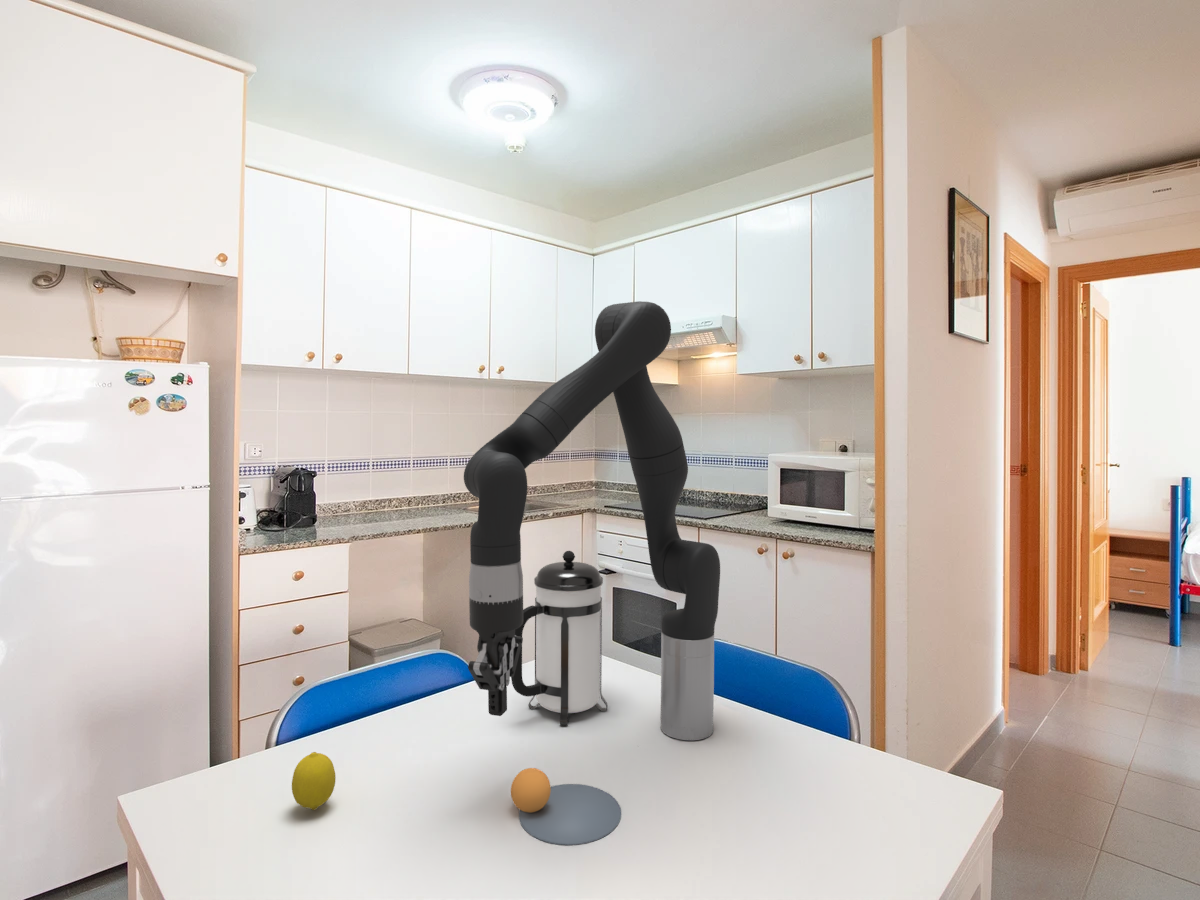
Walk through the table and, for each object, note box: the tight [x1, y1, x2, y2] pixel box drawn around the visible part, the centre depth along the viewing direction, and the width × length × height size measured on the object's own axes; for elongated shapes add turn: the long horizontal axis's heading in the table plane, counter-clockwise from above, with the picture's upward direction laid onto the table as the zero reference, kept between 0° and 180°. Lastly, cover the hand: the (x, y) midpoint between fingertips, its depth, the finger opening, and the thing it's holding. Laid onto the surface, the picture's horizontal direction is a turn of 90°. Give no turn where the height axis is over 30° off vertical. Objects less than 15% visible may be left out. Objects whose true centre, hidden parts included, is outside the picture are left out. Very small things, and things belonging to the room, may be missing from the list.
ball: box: [510, 767, 551, 813], centre depth 91 cm, size 6×6×6 cm
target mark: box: [518, 783, 622, 846], centre depth 91 cm, size 14×14×1 cm
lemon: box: [291, 751, 336, 811], centre depth 91 cm, size 6×6×8 cm
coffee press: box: [510, 550, 609, 727], centre depth 122 cm, size 17×16×30 cm
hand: (497, 713), depth 94 cm, fingers closed
